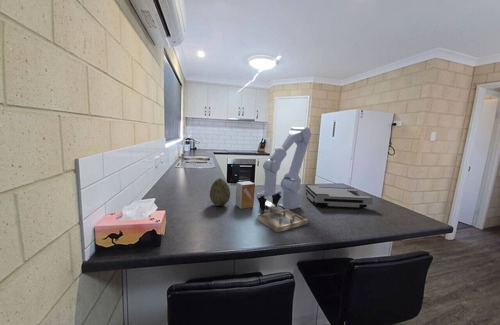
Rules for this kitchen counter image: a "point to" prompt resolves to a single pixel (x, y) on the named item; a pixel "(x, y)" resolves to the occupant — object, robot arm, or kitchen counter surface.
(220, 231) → the kitchen counter surface
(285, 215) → the tray
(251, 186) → the small box
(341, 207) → the game console
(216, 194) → the decorative egg
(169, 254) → the kitchen counter surface
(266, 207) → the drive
